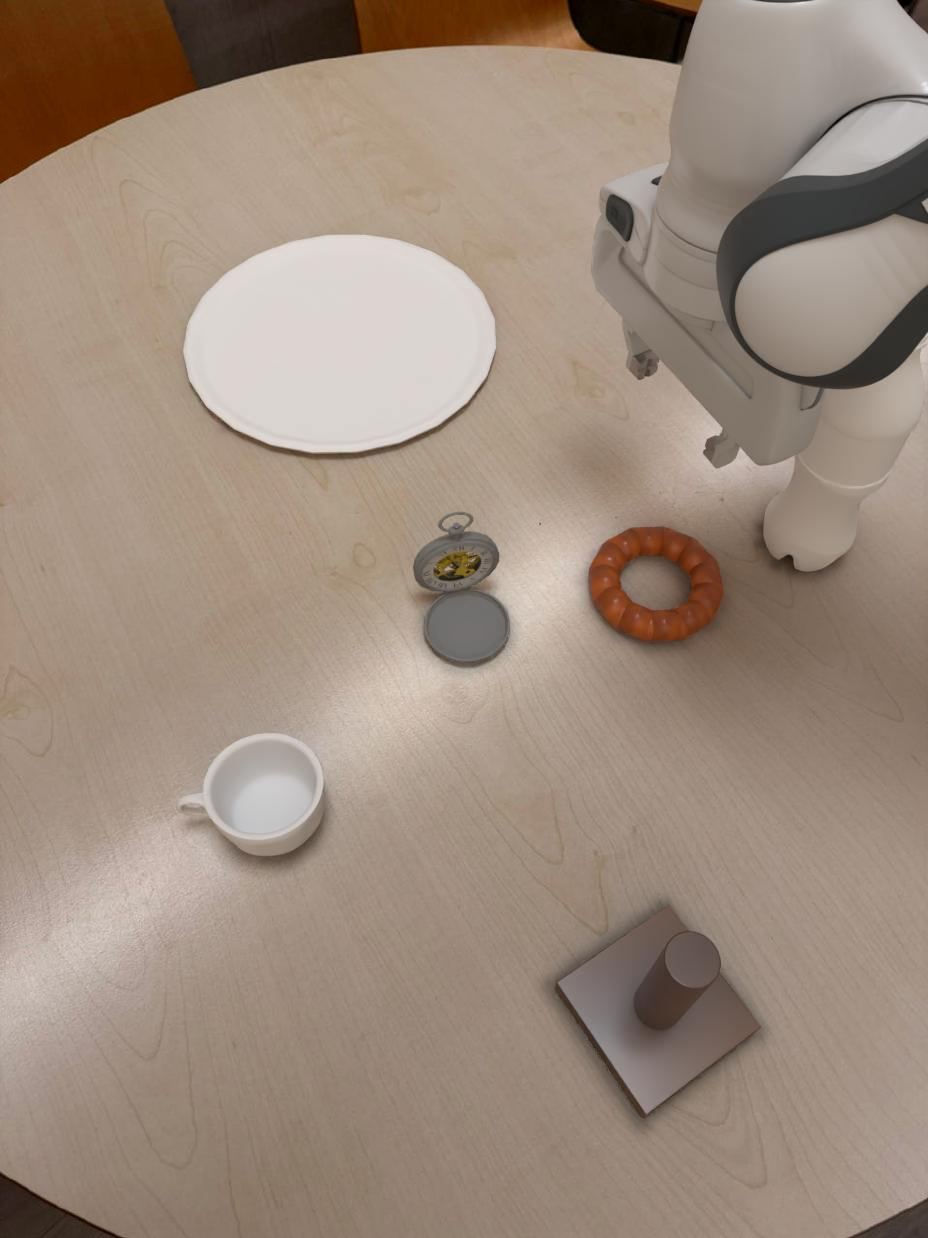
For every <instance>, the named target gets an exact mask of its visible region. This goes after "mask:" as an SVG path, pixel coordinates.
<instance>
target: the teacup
mask: <svg viewBox="0 0 928 1238" xmlns="http://www.w3.org/2000/svg"><path fill="white" fill-rule="evenodd" d="M324 789H325V780H324V771H323V768H322V764H321V762H320V760H319V758H318V757H317V755H316V753H315V752H314V751H313V750H312V748H310V747H309V745H307V744H305V743H304V741H301V740H300V739H297V738H295V737H294V736H291V735H288V734H285V733H276V732H263V733H256V734H252V735H247V736H245V737H243V738H240V739H238V740H236V741H234V742H233V743H231V744H229V745H228V746H226V747H225V748H224V749H223V750H222V751H221V752H220V753H218V755H217V756H216V757H215V758H214V759H213V761H212V762H211V764H210V765H209V767H208V769H207V771H206V774H205V775H204V780H203V785H202V791H201V792H196V793H191V794H186V795H183V796H181V797H179V798H178V799H177V801H176V803H175V807H176V808H175V809H176V811H177V812H178V813H180V814H182V815H187V816H194V817H202V818H208V819H210V820H211V822H212V823H213V824H214V825H215V827H216V828H217V830H218V831H219V832H220V833H221V834H222V835H223V836H224V837H225V838H227V840H229V841H230V842H231V843H233V845H235V846H236V847H237V848H238V849H240V850H241V851H242V852H244V853H246V854H249V855H253V856H257V857H273V856H279V855H283V854H284V855H285V854H287V853H290V852H292V851H294V850H296V849H298V848H299V847H300V846H302V845H303V844H305V842H306V841H307V840H308V839H309V838H310V837H311V836H312V835H313V834H314V833H315V831H316V829H317V828H318V827H319V825H320V823H321V821H322V818H323V815H324V812H325V793H324V792H325V790H324ZM188 805H189V806H188ZM190 805H195V806H190ZM197 806H198V807H197Z"/></svg>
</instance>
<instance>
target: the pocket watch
mask: <svg viewBox="0 0 928 1238" xmlns="http://www.w3.org/2000/svg"><path fill="white" fill-rule="evenodd" d="M456 515H457V516H463V515H464V516H466V517H468V518H469V519H468V520H469V521H468V522H467V523H465V525H463V524H460V523H459V522H453V524H452V526H450V527H449V528H447V527H444V526H443V523H444V522H445V520H447V519H448V518H451V517H454V516H456ZM473 522H474V516H473V515H472V514H471V513H469V512H466V511H454V512H450V513H447V514H446V515H444V516H443V517H441V519H439V520H438V523H437V527H438V528H439V530H441V531H442V532H446V533H448V534H443V535H442V536H440V537H437V538H435V539H433V540H431V541H430V542H428V543H427V544H425V545H424V546H423V547H422V548H421V549H420V550H419V551H418V552H417V554H416V556H415V558H414V560H413V566H412V570H413V576H414V579H415V582H417V583H418V585H419V586H420V587H421V588H424V589H427V590H428V591H431V592H438V593H443V594H441V595H440V596H439V597H437V598H436V599H435V600H434V601H432V603H431V604H430V605H429V607H428V609H427V610H426V613H425V617H424V621H423V629H424V637H425V639H426V640H427V643H428V645H429V646H430V647H431V649H432V650H433V651H434V653H435V654H437V655H439V656H440V657H442V658H443V659H445V660H447V661H450V662H452V663H456V664H462V665H473V664H478V663H482V662H486V661H487V660H489V659H491V658H493V657H495V656H496V655H497V654H498V653H499V652H500V651H501V650H502V649H503V648H504V647H505V645H506V643H507V641H508V639H509V636H510V633H511V620H510V616H509V613H508V611H507V609H506V607H505V605H504V604H503V603H502V602H501V600H499V598H496V596H495V595H493V594H490V593H489V592H486V591H484V590H481V589H475V588H471V587H472V586H475V585H478V584H479V583H481V582H482V581H484V580H485V579H486V578H488V577H489V576H490V575H491V574H492V573H493V572H494V571H495V570H496V568H497V567H498V564H499V562H500V551H499V549H498V547H497V544H496V543H495V542H494V541H493V539H492V538H491V537H490V536H488V535H487V534H484V533H482V532H477V531H471V530H468V531H467V530H466V529H467V528H469V527H471V525H472V523H473ZM465 530H466V531H465ZM448 568H449V569H450V570H446V569H448Z"/></svg>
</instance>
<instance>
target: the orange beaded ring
mask: <svg viewBox="0 0 928 1238" xmlns="http://www.w3.org/2000/svg"><path fill="white" fill-rule="evenodd" d="M641 557H642V558H643V557H644V558H645V557H660V558H663V559H665V560H668V561H670V562H672V563H676V564H677V565H678V566H679V567H680V568H681V570H682V571H683V572H684V573H686V575H688V577H689V582H690V586H691V591H690V593H689V596H688V597H687V599H686V601H684V602H683V603H681V604H679V605H678V606H676V607H674V608H672V609H671V608H670V609H667V608H666V609H652V608H648V607H646V606H644V605H641V604H639V603H636V602H634V601H633V600H632V599H631V598H630V597H629V595H628V594H627V592H625V591H624V590H623V587H622V582H621V574H622V573H623V571H624V568H625V566H626V565H627V564H629V563H630V562H632V561H634V560H636V559H637V558H641ZM720 569H721V568H720V565H719V562H718V561H717V559H716V558H715V557H714V556H713V555H712V554H711V553H710V552H709V551H708V550H707V549H706V548H705V547H704V546H703V544H702V543H701V542H700V541H699V540H698V539H697V538H695V537H693V536H691V535H688V534H686V533H683V532H681V531H678V530H676V529H673V528H671V527H668V526H664V525H656V526H654V525H653V526H633V527H632V526H631V527H629V528H627V529H625V530H624V531H621V532H620V533H618V534H616V535H614V536H612V537H611V538H608V539H607V540H605V541H604V542H603V543H602V544H601V545H600V547H599V548H598V551H597V553H596V554H595V556H594V558H593V560H592V562H591V564H590V565H589V567H588V581H589V589H590V597H591V601H592V603H593V605H594V606H595V607H596V608H597V610H598V611H599V612H600V613H601V614H602V615H603V616H604V618H605V619H606V620H607V621H608V623H610V625H611V626H612V627H613V628H615V629H616V630H618V631H621V632H623V633H626V634H628V635H630V636H632V637H634V638H637V639H639V640H642V641H645V642H649V643H650V642H668V641H670V642H671V641H673V642H674V641H682V640H685V639H687V638H688V637H690V636H692V635H694V634H695V633H697V632H699V631H700V630H702V629H704V628H705V627H707V626H708V625H709V624H711V623H712V622H713V620H714V618H715V616H716V615H717V612H718V609H719V607H720V605H721V603H722V601H723V599H724V596H725V588H724V587H725V586H724V582H723V577H722V573H721V570H720Z"/></svg>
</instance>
